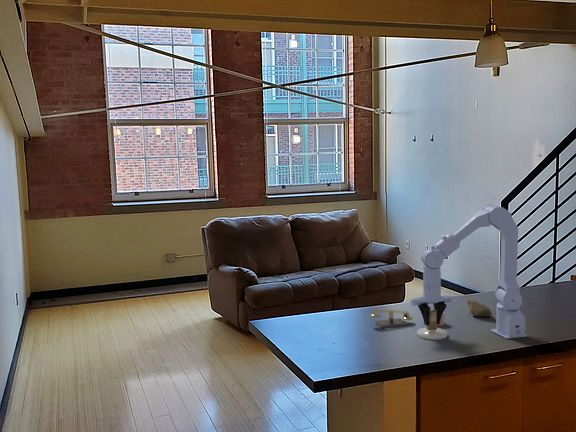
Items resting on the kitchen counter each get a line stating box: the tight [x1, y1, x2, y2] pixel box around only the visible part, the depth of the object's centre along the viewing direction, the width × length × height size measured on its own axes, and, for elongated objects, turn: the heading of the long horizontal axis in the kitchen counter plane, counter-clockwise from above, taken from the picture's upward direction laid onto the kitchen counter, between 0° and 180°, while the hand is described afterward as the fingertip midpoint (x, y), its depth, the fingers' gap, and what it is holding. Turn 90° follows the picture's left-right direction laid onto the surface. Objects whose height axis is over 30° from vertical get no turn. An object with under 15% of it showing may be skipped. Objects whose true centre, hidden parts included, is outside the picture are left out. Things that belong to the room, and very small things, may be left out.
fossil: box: [466, 298, 493, 318], centre depth 221 cm, size 9×4×10 cm
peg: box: [426, 308, 438, 331], centre depth 200 cm, size 3×3×6 cm
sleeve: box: [437, 311, 446, 327], centre depth 213 cm, size 6×6×4 cm
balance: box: [368, 308, 414, 329], centre depth 213 cm, size 6×17×6 cm, turn 103°
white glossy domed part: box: [416, 327, 448, 341], centre depth 200 cm, size 10×10×1 cm
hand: (431, 324), depth 200 cm, fingers closed on peg, 3 cm apart
